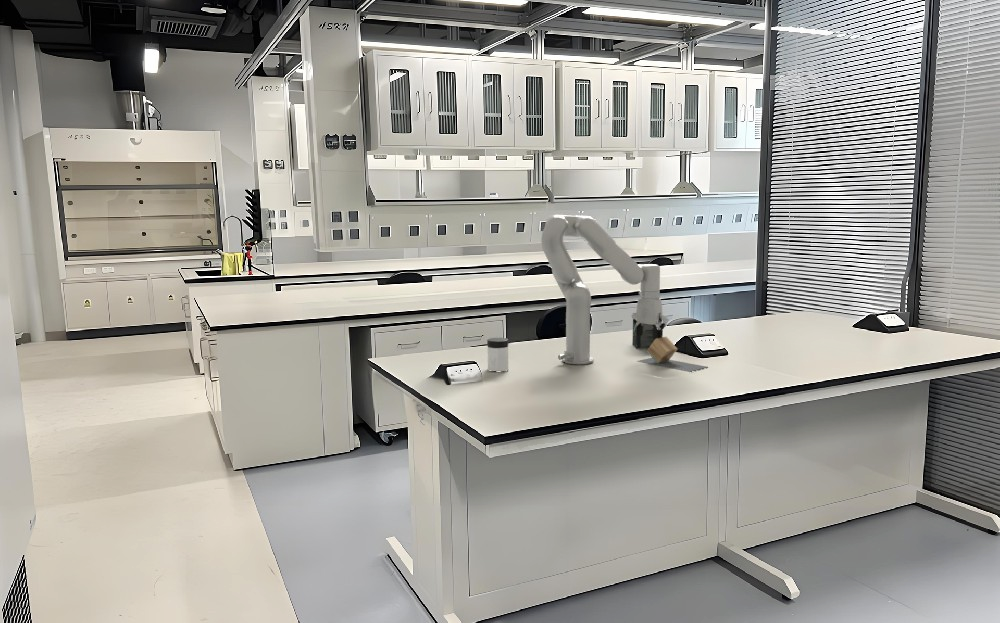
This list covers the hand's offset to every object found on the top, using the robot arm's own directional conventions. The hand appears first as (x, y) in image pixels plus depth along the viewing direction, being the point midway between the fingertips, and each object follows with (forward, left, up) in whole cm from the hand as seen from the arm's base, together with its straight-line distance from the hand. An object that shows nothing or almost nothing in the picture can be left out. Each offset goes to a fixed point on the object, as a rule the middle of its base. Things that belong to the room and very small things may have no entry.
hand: (649, 337), depth 281 cm
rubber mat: (0, -11, -10) cm, 15 cm away
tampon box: (+21, +19, -10) cm, 30 cm away
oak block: (0, -4, -7) cm, 8 cm away
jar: (-55, +30, -10) cm, 63 cm away
